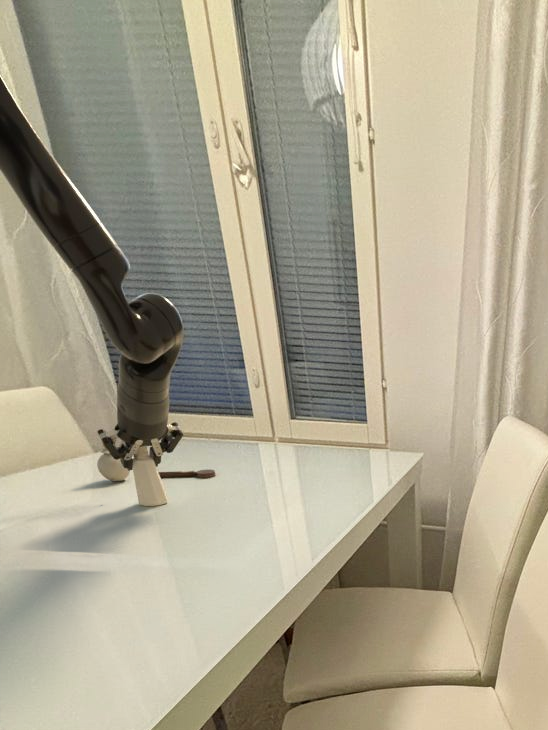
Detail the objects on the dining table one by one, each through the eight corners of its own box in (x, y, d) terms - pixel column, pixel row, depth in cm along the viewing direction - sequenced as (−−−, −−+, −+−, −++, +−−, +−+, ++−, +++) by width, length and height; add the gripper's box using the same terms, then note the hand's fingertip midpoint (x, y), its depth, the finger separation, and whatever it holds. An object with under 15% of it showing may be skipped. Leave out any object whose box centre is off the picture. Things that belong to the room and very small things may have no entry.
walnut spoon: (146, 480, 123) (145, 474, 122) (151, 475, 126) (149, 470, 126) (214, 477, 126) (213, 472, 125) (216, 473, 129) (215, 468, 129)
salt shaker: (148, 498, 111) (132, 441, 106) (174, 499, 111) (160, 442, 105) (132, 505, 106) (115, 447, 101) (160, 506, 106) (144, 448, 101)
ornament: (99, 485, 118) (83, 436, 113) (107, 476, 125) (92, 430, 119) (130, 483, 120) (116, 435, 115) (137, 475, 126) (124, 429, 121)
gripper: (177, 384, 98) (170, 444, 111) (85, 388, 89) (90, 453, 102) (196, 419, 97) (187, 475, 111) (105, 427, 88) (108, 487, 102)
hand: (140, 464), depth 106 cm, fingers closed on salt shaker, 4 cm apart
